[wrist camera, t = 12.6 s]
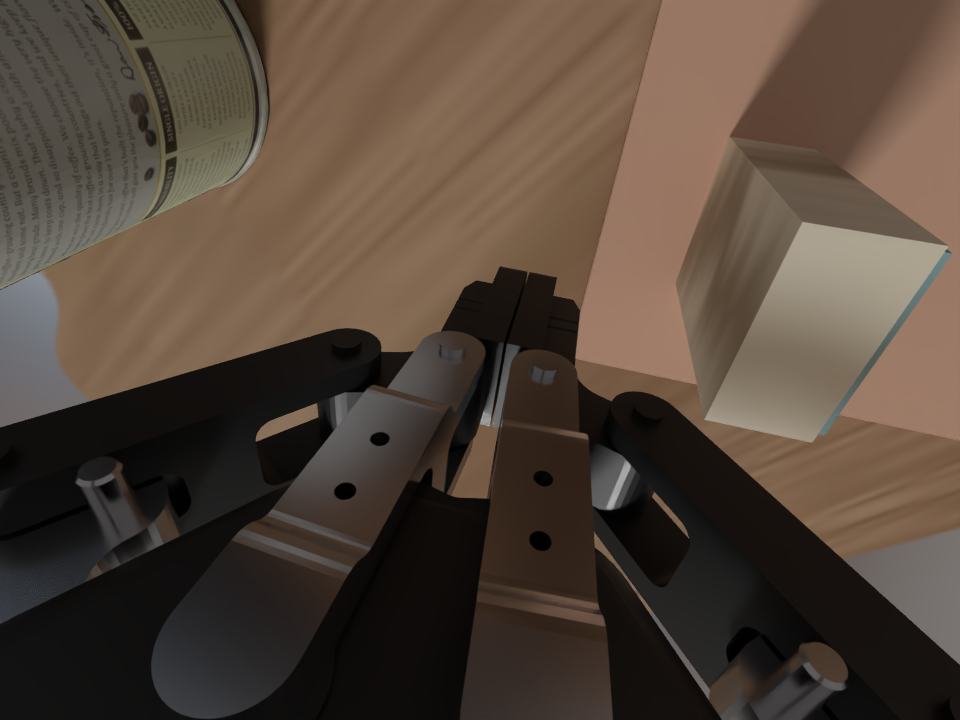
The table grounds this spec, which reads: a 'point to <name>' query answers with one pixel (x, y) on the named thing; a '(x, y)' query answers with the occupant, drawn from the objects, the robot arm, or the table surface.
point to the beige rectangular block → (795, 287)
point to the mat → (796, 122)
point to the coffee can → (117, 117)
